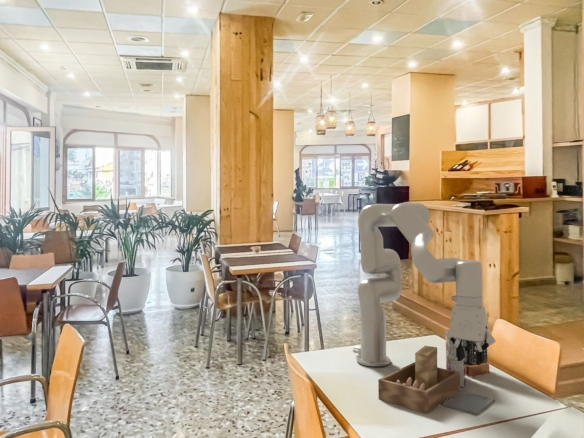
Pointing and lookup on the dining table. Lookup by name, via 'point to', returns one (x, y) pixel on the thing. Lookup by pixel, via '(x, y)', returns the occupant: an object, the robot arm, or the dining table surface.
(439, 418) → the dining table surface
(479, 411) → the slate pad
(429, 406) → the caddy
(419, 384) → the oak block
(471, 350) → the whiskey bottle
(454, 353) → the candy bar box
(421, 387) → the ammunition
